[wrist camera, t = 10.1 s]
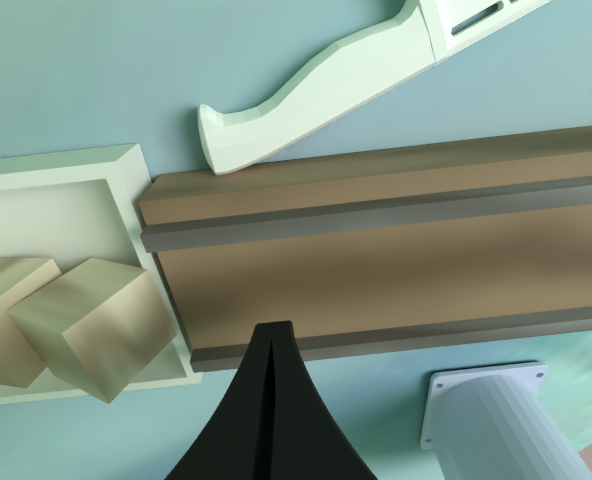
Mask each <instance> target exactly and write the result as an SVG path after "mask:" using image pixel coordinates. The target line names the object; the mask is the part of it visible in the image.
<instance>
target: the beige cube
mask: <svg viewBox="0 0 592 480" xmlns="http://www.w3.org/2000/svg"><path fill="white" fill-rule="evenodd" d="M5 312H6V313H7V314H8V316H9V317H10V318H11V320H12V321H13V322H14V324H15V325H16V326H17V327H18V329H19V330H20V331H21V333H22V334H23V335H24V337H25V338H26V339H27V341H28V342H29V343H30V345H31V346H32V347H33V349H34V350H35V351H36V353H37V354H38V355H39V357H40V358H41V359H42V360H43V362H44V363H45V364H46V366H47V367H48V368H49V370H50V371H51V372H52V374H53V375H54V376H55V377H57V378H59V379H61V380H63V381H65V382H67V383H69V384H71V385H73V386H75V387H77V388H79V389H81V390H83V391H85V392H87V393H88V394H90V395H92V396H94V397H96V398H98V399H100V400H102V401H104V402H106V403H108V404H109V403H110V402H111V401H112V400H113V399H114V398H115V397H116V396H117V395H118V394H119V393H120V392H121V391H122V390H123V389H124V388H125V387H126V386H127V385H128V384H129V383H130V382H131V381H132V380H133V379H134V378H135V377H136V376H137V375H138V374H139V373H140V372H141V371H142V370H143V369H144V368H145V367H146V366H147V365H148V364H149V363H150V362H151V361H152V360H153V359H154V358H155V357H156V356H157V355H158V354H159V353H160V352H161V351H162V350H163V349H164V348H165V347H166V346H167V345H168V344H169V343H170V341H171V340H172V339H173V338H174V337H175V336H176V335H177V334H176V331H175V329H174V327H173V325H172V322H171V320H170V318H169V316H168V313H167V311H166V309H165V307H164V304H163V302H162V300H161V298H160V295H159V293H158V291H157V289H156V287H155V284H154V282H153V280H152V278H151V275H150V273H149V271H148V269H143V268H139V267H134V266H130V265H125V264H120V263H116V262H111V261H106V260H102V259H97V258H90V259H89V260H87V261H85V262H84V263H82V264H81V265H79V266H77V267H76V268H74V269H72V270H71V271H69V272H68V273H66V274H64V275H63V276H61V277H59V278H58V279H56V280H55V281H53V282H51V283H50V284H48V285H46V286H45V287H43V288H41V289H40V290H38V291H37V292H35V293H33V294H32V295H30V296H28V297H27V298H25V299H24V300H22V301H20V302H19V303H17V304H15V305H14V306H12V307H11V308H9V309H7V310H6V311H5Z"/></svg>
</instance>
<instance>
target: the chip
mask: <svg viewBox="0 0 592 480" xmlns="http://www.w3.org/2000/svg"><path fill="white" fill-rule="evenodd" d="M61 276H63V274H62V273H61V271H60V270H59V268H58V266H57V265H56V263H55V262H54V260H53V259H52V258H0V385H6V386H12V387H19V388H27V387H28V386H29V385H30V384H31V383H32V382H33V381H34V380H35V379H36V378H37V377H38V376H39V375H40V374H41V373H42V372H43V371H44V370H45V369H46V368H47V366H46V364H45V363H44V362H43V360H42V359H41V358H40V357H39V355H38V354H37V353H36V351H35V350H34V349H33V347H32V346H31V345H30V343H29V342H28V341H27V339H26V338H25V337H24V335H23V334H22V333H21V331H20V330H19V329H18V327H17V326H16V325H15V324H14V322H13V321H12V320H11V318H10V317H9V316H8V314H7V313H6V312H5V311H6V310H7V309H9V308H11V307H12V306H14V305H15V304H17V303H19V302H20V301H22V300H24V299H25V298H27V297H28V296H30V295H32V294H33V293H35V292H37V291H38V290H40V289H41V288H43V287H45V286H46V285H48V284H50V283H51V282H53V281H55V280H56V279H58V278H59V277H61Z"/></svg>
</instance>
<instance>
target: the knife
mask: <svg viewBox="0 0 592 480" xmlns="http://www.w3.org/2000/svg"><path fill="white" fill-rule="evenodd" d="M549 1H551V0H514V1H513V2H511V3H510V1H509V0H406V2H405V4H404V5H403V7H402V9H401V11H400V12H399V13H398V14H397V15H396V16H395V17H394V18H393V19H390V20H387V21H384V22H382V23H379V24H376V25H373V26H370V27H368V28H365V29H362V30H360V31H358V32H355V33H353V34H351V35H349V36H346V37H344V38H342V39H340V40H337V41H335V42H334V43H332V44H331V45H330V46H328V47H327V48H326V49H324V50H323V51H322V52H320V53H319V54H317V55H316V56H315V57H313V58H312V59H311V60H309V61H308V62H307V63H306V64H305V65H304V66H303V67H302V68H301V69H300V70H299V71H298V72H297V73H296V74H295V75H294V76H293V77H292V78H291V79H290V80H289V81H288V82H287V83H286V84H285V85H284V86H283V87H282V88H281V89H280V90H279V91H278V92H277V93H276V94H274V95H273V96H272V97H271V98H270V99H268V100H267V101H265V102H263V103H262V104H260V105H259V106H257V107H254V108H251V109H248V110H245V111H241V112H235V113H228V114H222V113H218V112H216V111H214V110H213V109H211V108H210V107H209V106H207V105H202V104H201V105H200V106H199V108H198V109H197V110H198V128H199V134H200V139H201V144H202V148H203V151H204V154H205V157H206V160H207V162H208V164H209V165H210V167H211V169H212V170H213V172H214V173H215V174H216V175H224V174H229V173H232V172H235V171H238V170H240V169H243V168H245V167H248V166H250V165H252V164H254V163H257V162H259V161H261V160H263V159H265V158H268V157H269V156H271V155H273V154H275V153H277V152H279V151H280V150H282V149H284V148H286V147H288V146H290V145H291V144H293V143H295V142H297V141H299V140H301V139H302V138H304V137H306V136H308V135H310V134H312V133H313V132H315V131H317V130H319V129H321V128H322V127H324V126H326V125H328V124H330V123H332V122H333V121H335V120H337V119H339V118H341V117H342V116H344V115H346V114H348V113H350V112H352V111H353V110H355V109H357V108H359V107H361V106H362V105H364V104H366V103H368V102H370V101H372V100H373V99H375V98H377V97H379V96H381V95H382V94H384V93H386V92H388V91H390V90H391V89H393V88H395V87H397V86H399V85H401V84H402V83H404V82H406V81H408V80H410V79H411V78H413V77H415V76H417V75H419V74H420V73H422V72H424V71H426V70H428V69H430V68H433V67H435V66H436V65H438V64H440V63H442V62H444V61H445V60H446V59H447V58H448V57H450V56H451V55H453V54H455V53H457V52H459V51H461V50H462V49H464V48H466V47H468V46H470V45H471V44H473V43H475V42H477V41H479V40H480V39H482V38H484V37H486V36H488V35H490V34H491V33H493V32H495V31H497V30H499V29H500V28H502V27H504V26H506V25H508V24H509V23H511V22H513V21H515V20H517V19H519V18H520V17H522V16H524V15H526V14H528V13H529V12H531V11H533V10H535V9H537V8H538V7H540V6H542V5H544V4H546V3H548V2H549ZM496 2H497V4H498V9H497V10H496V11H495V12H493V13H491V14H490V15H488V16H486V17H484V18H483V19H481V20H479V21H477V22H476V23H474V24H472V25H470V26H469V27H467V28H465V29H463V30H462V31H460V32H458V33H456V34H455V35H452V34H451V31H452V27H454V26H456V25H457V24H459V23H461V22H463V21H464V20H466V19H468V18H470V17H472V16H473V15H475V14H477V13H479V12H480V11H482V10H484V9H486V8H487V7H489V6H491V5H493V4H494V3H496Z"/></svg>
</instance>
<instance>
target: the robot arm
mask: <svg viewBox="0 0 592 480" xmlns="http://www.w3.org/2000/svg"><path fill="white" fill-rule="evenodd" d="M548 369H549V367H548V366H547V364H546V363H545V362H542V361H539V362H530V363H520V364H511V365H501V366H492V367H483V368H473V369H464V370H455V371H445V372H437V373H434V374H433V375H432V376H431V379H430V385H429V391H428V397H427V403H426V409H425V415H424V421H423V427H422V433H421V439H420V446H421V449H423V450H433V449H434V451H435V454H436V457H437V459H438V462H439V464H440V467H441V470H442V472H443V475H444V478H445V480H592V473H591V471H590V470H589V468H588V467H587V466H586V464H585V463H584V462H583V460H582V459H581V458H580V456H579V455H578V453H577V452H576V450H575V449H574V448H573V446H572V445H571V443H570V442H569V441H568V439H567V438H566V436H565V435H564V434H563V432H562V431H561V429H560V428H559V427H558V425H557V424H556V422H555V421H554V420H553V418H552V417H551V415H550V414H549V413H548V411H547V410H546V408H545V407H544V406H543V404H542V403H541V402H540V400H539V399H538V397H537V394H538V392H539V390H540V388H541V385H542V383H543V381H544V378H545V376H546V374H547V372H548ZM164 480H378V479H377V478H376V476H375V475H374V474H373V473H372V472H371V470H370V469H369V468H368V467H367V465H366V464H365V463H364V462H363V460H362V459H361V458H360V456H359V455H358V454H357V452H356V451H355V450H354V448H353V447H352V446H351V444H350V443H349V441H348V440H347V438H346V437H345V435H344V434H343V433H342V431H341V430H340V428H339V427H338V425H337V424H336V422H335V421H334V419H333V418H332V416H331V414H330V413H329V411H328V409H327V408H326V406H325V404H324V403H323V401H322V399H321V397H320V395H319V394H318V392H317V390H316V388H315V386H314V384H313V382H312V380H311V378H310V376H309V374H308V371H307V369H306V367H305V365H304V362H303V360H302V357H301V355H300V352H299V349H298V346H297V343H296V340H295V336H294V329H293V323H292V322H291V321H290V320H286V321H277V322H267V323H258V324H257V325H256V326H255V328H254V331H253V334H252V337H251V340H250V343H249V345H248V348H247V350H246V353H245V355H244V357H243V359H242V362H241V364H240V366H239V368H238V370H237V372H236V374H235V376H234V378H233V380H232V382H231V384H230V386H229V388H228V390H227V392H226V393H225V395H224V397H223V399H222V400H221V402H220V404H219V405H218V407H217V409H216V410H215V412H214V414H213V415H212V417H211V418H210V420H209V421H208V423H207V424H206V426H205V427H204V429H203V430H202V432H201V433H200V434H199V436H198V437H197V439H196V440H195V442H194V443H193V444H192V446H191V447H190V448H189V450H188V451H187V452H186V453H185V455H184V456H183V457H182V458H181V460H180V461H179V462H178V463H177V465H176V466H175V467H174V468H173V470H172V471H171V472H170V473H169V475H168V476H167V477H166V478H165V479H164Z"/></svg>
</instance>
